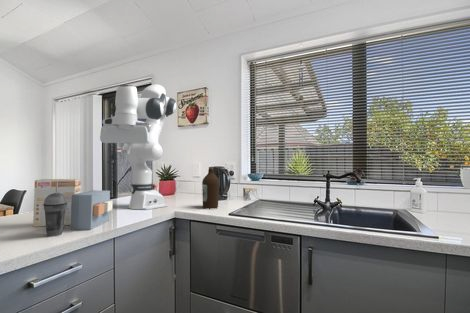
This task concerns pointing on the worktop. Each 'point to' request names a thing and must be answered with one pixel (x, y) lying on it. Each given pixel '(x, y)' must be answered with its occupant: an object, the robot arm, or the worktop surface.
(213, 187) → the olive oil
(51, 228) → the beverage cup
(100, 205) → the terracotta button
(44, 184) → the coffeecake box
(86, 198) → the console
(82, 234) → the worktop surface
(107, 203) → the cream block
